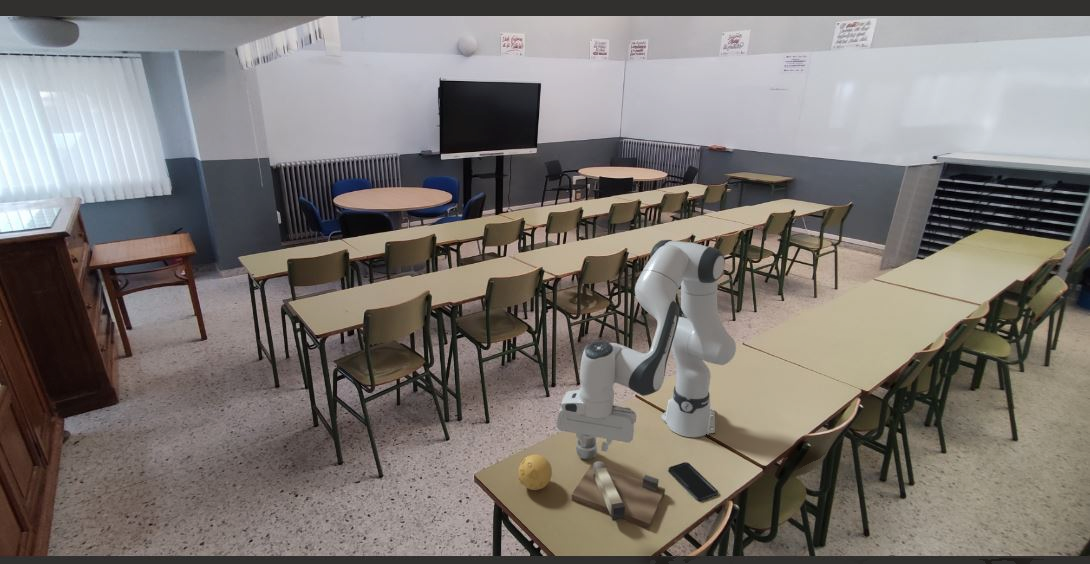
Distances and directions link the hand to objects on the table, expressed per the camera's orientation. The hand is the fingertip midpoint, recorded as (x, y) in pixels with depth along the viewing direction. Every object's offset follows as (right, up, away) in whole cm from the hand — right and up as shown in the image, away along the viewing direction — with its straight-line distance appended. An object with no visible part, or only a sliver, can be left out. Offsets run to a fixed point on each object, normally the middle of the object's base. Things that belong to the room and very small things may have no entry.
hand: (593, 447), depth 139 cm
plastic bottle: (0, -12, +29) cm, 32 cm away
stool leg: (+5, -17, +10) cm, 20 cm away
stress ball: (-16, -17, +16) cm, 28 cm away
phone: (+31, -17, +19) cm, 40 cm away
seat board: (+8, -18, +12) cm, 23 cm away
